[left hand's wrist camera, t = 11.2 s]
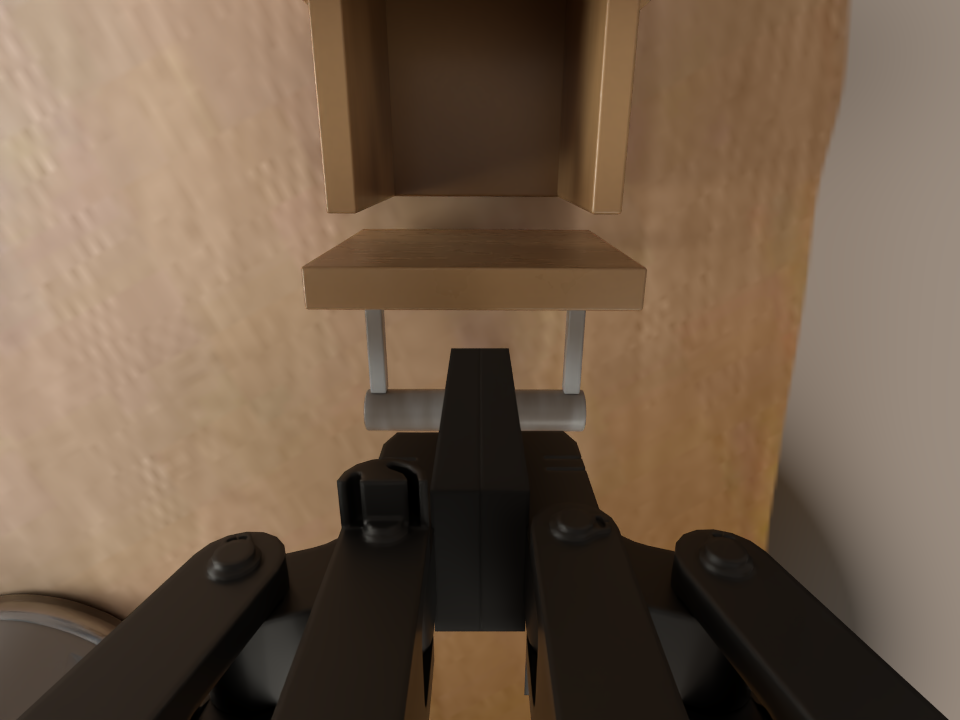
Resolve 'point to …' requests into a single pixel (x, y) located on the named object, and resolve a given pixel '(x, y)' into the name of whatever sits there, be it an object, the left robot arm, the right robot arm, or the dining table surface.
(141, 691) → the left robot arm
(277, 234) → the dining table surface
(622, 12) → the drawer
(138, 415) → the dining table surface
